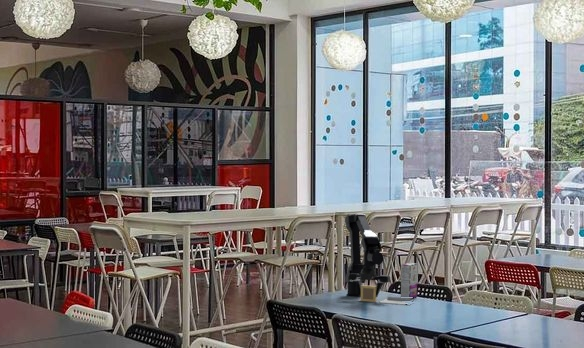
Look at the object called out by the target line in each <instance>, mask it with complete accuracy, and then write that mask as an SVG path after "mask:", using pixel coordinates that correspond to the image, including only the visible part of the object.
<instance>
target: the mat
mask: <svg viewBox="0 0 584 348" xmlns="http://www.w3.org/2000/svg"><path fill="white" fill-rule="evenodd" d="M402 301H412V299H411V298H401V296H400V297H399V296H387V297H386V298H385V299H383V300H381V301H379V304H388V305H399V306H406V305H405V304H408V303H405V302H402ZM407 306H411V305H410V304H408V305H407Z"/></svg>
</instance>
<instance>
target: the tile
mask: <svg viewBox="0 0 584 348" xmlns="http://www.w3.org/2000/svg"><path fill="white" fill-rule="evenodd" d="M376 290H377V285H366V284H365V285H363V284H362V285H361V296H360V302H372V303H376V302H377V298H378V297H376Z"/></svg>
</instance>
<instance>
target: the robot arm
mask: <svg viewBox="0 0 584 348" xmlns="http://www.w3.org/2000/svg"><path fill="white" fill-rule="evenodd" d="M344 223H345V226H346V229H347V231H348V232H349V241H350V242H349V246H350V263H349V265H348V267H347V272H346V273H345V277H344V282H345V283H346V284H347V294H346V296H348V295H352V297H361V285H363V284H365V282H366V281H378V282H376V286H377V290H376V297H377V298H378V296H379V294H380V292H381V289H382V287H383V286H384V285H385V284H386V283H391V276H390V274H389V275H385V274H381V275H379V276H376V275H377V271H376V269H377V265H381V264H383V262H384V259H385V257H384V255H383V253H381V252H382V244H381V241H380V238H379V237H378V235H377V234H376V233H375V232H374V231H372V229H371V227H370V224H369V222H368V220H367V216H366V214H365V213H355V214H354V213H353V214H351V213H350V214H349V213H348V214H347V215H346V216H345V217H344ZM360 234H361V235H360ZM361 236H362V237H361ZM361 246H362V248H363V251H362V252H363V262H362V261H361V260H362V257H361V254H362V253H361Z"/></svg>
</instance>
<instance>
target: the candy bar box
mask: <svg viewBox="0 0 584 348" xmlns="http://www.w3.org/2000/svg"><path fill="white" fill-rule="evenodd" d="M400 297H415V298H417V297H418V262H417V263H415V262H407V263H402V264H401V265H400Z"/></svg>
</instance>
